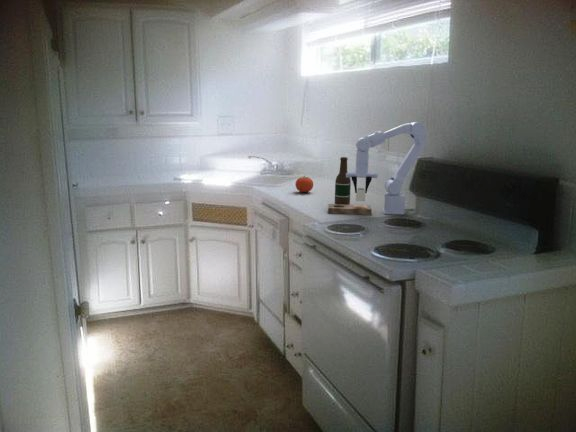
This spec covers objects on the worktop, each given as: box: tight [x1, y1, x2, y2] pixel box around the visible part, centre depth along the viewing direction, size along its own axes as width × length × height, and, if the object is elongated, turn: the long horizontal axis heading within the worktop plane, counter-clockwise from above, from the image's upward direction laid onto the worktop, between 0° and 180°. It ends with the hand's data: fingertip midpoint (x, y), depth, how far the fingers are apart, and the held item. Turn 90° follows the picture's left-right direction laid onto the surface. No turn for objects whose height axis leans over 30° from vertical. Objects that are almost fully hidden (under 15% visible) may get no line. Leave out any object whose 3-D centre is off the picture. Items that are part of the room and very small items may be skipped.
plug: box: [355, 186, 366, 202], centre depth 246 cm, size 4×4×6 cm
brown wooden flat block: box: [327, 203, 373, 216], centre depth 248 cm, size 20×10×3 cm, turn 85°
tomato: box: [295, 175, 314, 193], centre depth 298 cm, size 10×10×10 cm
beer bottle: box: [334, 156, 352, 205], centre depth 263 cm, size 8×8×24 cm
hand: (360, 192), depth 246 cm, fingers closed on plug, 4 cm apart
